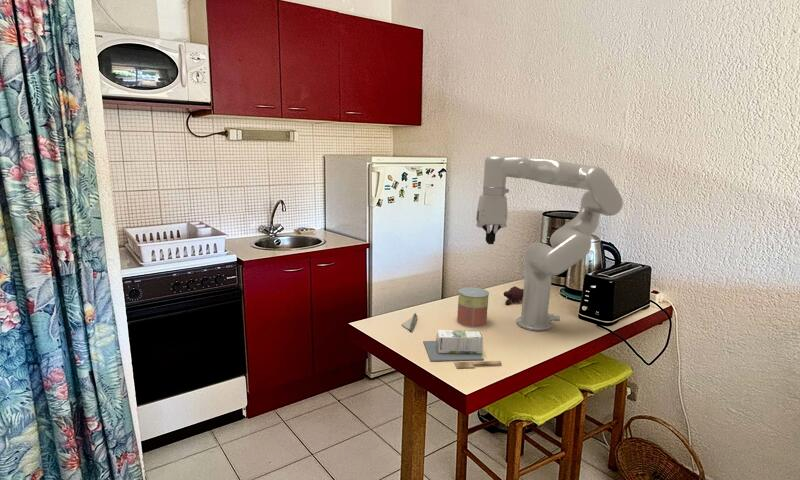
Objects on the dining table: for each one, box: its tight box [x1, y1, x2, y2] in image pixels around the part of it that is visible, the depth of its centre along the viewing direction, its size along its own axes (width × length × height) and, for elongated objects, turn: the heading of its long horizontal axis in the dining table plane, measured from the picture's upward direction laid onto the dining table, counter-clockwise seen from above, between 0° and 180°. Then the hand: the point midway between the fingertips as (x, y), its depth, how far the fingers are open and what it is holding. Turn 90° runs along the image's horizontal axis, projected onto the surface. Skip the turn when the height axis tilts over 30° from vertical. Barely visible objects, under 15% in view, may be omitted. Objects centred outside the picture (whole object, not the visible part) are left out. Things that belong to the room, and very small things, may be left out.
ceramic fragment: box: [401, 312, 419, 333], centre depth 169 cm, size 14×5×4 cm, turn 169°
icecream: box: [503, 285, 524, 306], centre depth 196 cm, size 7×7×15 cm
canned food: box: [456, 286, 490, 329], centre depth 172 cm, size 11×11×12 cm
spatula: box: [453, 360, 503, 370], centre depth 140 cm, size 14×4×1 cm, turn 97°
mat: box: [423, 340, 485, 363], centre depth 149 cm, size 17×14×1 cm
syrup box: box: [435, 329, 484, 355], centre depth 148 cm, size 6×6×14 cm
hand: (490, 243), depth 161 cm, fingers closed
